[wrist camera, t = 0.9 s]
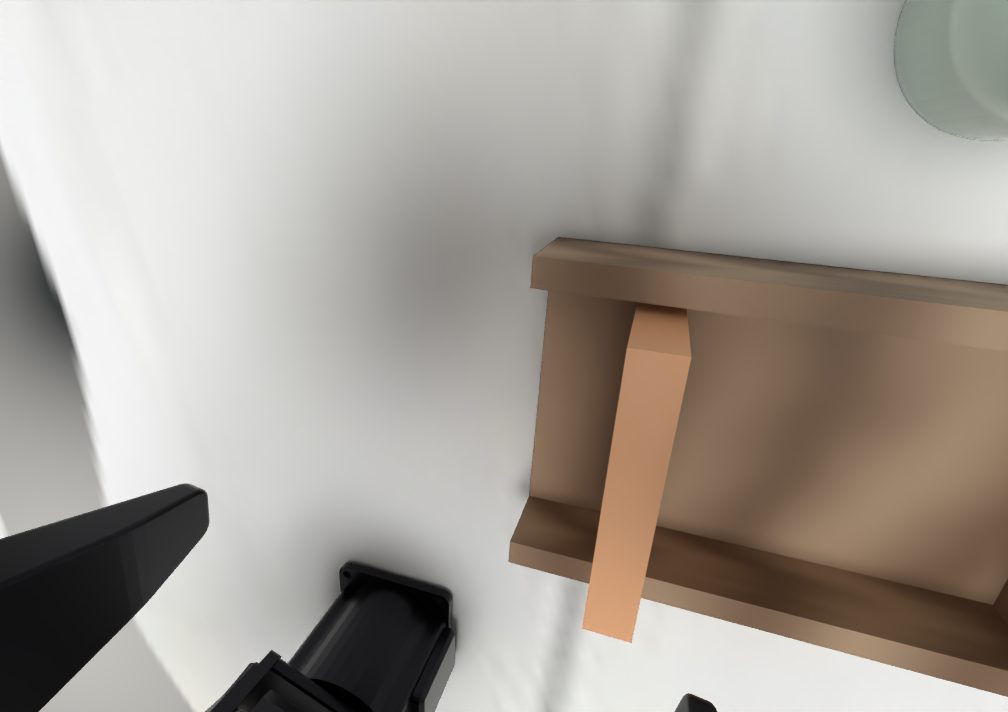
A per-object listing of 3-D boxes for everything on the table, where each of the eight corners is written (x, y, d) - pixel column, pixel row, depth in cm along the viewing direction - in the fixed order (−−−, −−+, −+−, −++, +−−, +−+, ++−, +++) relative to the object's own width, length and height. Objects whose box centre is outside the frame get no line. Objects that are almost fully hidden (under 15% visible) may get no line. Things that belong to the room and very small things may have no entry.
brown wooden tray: (532, 500, 24) (508, 561, 20) (558, 237, 19) (532, 255, 16) (999, 611, 19) (1072, 714, 16) (1173, 303, 15) (1331, 349, 11)
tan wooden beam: (604, 510, 22) (582, 628, 16) (640, 289, 18) (626, 347, 13) (641, 519, 21) (631, 642, 16) (685, 295, 18) (691, 357, 12)
